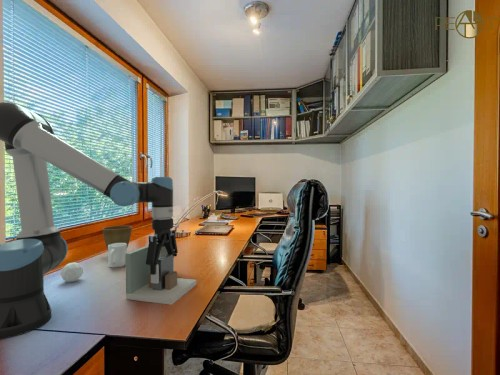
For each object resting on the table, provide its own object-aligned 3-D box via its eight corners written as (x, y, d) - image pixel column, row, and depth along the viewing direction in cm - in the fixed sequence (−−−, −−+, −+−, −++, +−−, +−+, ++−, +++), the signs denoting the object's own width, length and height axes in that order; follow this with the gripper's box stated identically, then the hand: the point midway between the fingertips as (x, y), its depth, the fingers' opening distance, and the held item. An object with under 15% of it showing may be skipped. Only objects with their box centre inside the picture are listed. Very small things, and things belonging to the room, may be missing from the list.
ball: (68, 287, 111) (64, 269, 114) (88, 278, 113) (84, 261, 116) (58, 284, 104) (54, 265, 107) (80, 274, 106) (76, 256, 110)
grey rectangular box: (161, 290, 95) (160, 260, 94) (152, 289, 96) (152, 259, 95) (173, 282, 102) (173, 254, 102) (165, 281, 103) (165, 253, 103)
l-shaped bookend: (171, 304, 88) (171, 256, 88) (125, 298, 93) (125, 253, 92) (196, 284, 105) (195, 244, 105) (156, 280, 110) (156, 242, 110)
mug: (119, 270, 124) (119, 248, 124) (101, 270, 123) (100, 248, 123) (129, 262, 136) (129, 242, 136) (113, 262, 135) (112, 242, 135)
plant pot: (131, 257, 145) (131, 228, 145) (100, 260, 140) (100, 230, 140) (132, 251, 159) (132, 224, 159) (104, 253, 154) (104, 226, 154)
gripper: (153, 222, 87) (153, 290, 87) (186, 215, 108) (186, 269, 109) (133, 221, 89) (134, 288, 89) (170, 214, 110) (170, 267, 111)
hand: (163, 277), depth 99 cm, fingers open, 9 cm apart
